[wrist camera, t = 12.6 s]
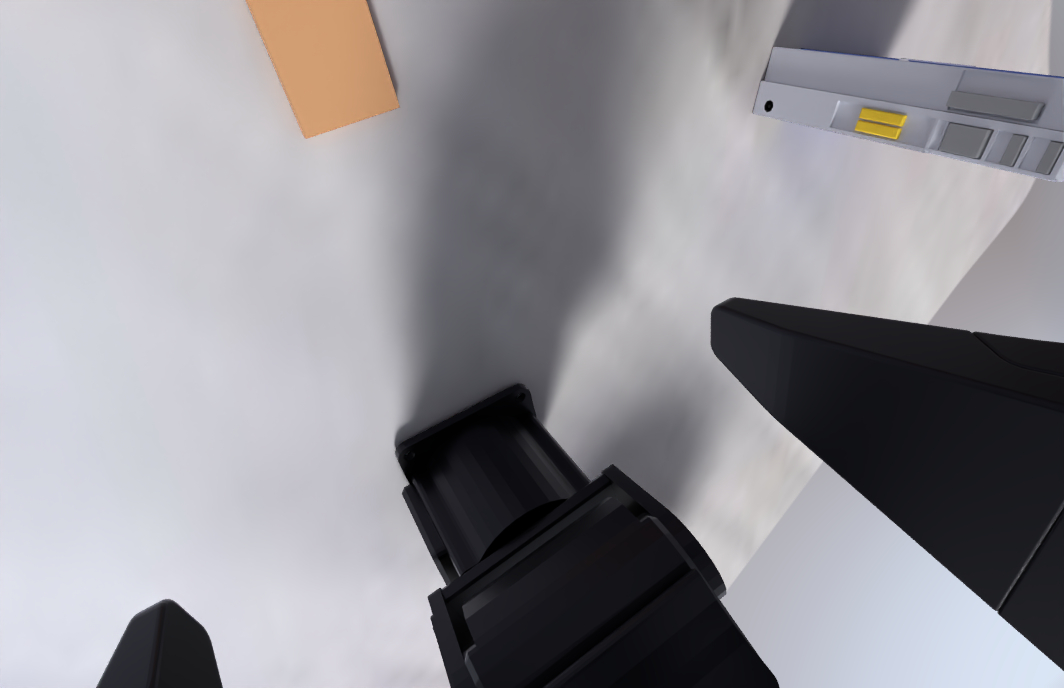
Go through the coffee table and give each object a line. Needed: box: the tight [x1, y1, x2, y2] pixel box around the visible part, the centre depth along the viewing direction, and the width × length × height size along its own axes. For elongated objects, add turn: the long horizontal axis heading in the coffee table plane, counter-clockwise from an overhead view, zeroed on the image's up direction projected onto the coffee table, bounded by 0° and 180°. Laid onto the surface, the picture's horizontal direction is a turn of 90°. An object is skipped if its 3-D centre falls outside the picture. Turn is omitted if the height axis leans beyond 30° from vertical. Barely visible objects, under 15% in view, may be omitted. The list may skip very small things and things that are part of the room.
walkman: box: [753, 47, 1064, 182], centre depth 22 cm, size 8×3×12 cm, turn 81°
